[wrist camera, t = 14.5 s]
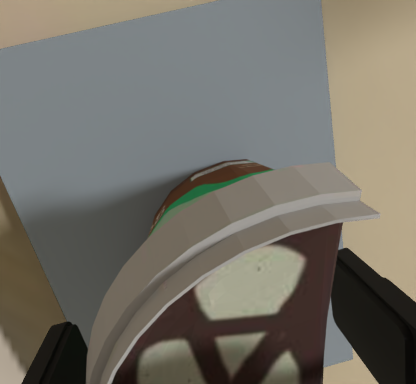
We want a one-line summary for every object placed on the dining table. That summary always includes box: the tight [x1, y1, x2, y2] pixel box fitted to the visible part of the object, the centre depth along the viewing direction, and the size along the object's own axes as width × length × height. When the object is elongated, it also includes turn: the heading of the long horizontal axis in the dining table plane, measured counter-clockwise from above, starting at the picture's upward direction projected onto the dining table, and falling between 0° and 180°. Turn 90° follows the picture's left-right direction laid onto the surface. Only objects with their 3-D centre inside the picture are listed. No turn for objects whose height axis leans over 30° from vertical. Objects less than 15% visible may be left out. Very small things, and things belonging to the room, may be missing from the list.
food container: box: [86, 159, 380, 384], centre depth 12 cm, size 12×6×10 cm, turn 179°
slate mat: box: [0, 0, 353, 368], centre depth 17 cm, size 22×16×1 cm
